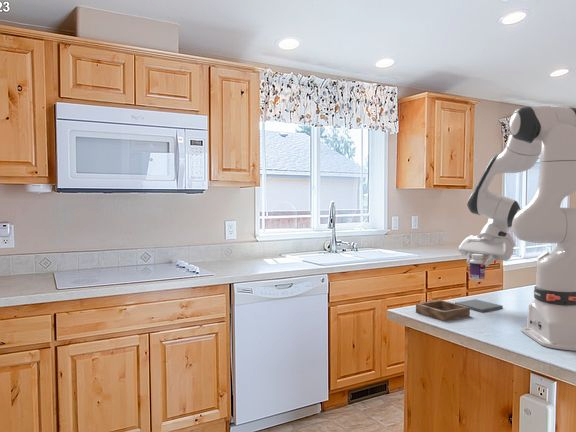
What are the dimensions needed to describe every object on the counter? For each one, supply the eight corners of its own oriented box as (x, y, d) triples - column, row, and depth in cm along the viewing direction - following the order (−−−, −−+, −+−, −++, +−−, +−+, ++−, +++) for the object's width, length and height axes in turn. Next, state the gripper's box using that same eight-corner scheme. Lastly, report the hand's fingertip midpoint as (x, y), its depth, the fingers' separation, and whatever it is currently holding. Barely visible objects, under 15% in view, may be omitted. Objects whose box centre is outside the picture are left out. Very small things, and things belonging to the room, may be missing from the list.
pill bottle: (482, 281, 163) (483, 255, 162) (467, 279, 166) (468, 254, 166) (486, 279, 167) (486, 254, 167) (471, 277, 170) (471, 253, 170)
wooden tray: (469, 315, 154) (469, 307, 154) (444, 320, 148) (444, 312, 148) (440, 307, 166) (440, 299, 166) (415, 312, 160) (415, 303, 159)
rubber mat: (502, 308, 165) (502, 305, 165) (481, 312, 159) (481, 309, 159) (475, 301, 176) (475, 299, 176) (454, 305, 170) (454, 302, 170)
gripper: (464, 230, 178) (449, 256, 173) (513, 234, 161) (498, 262, 156) (470, 240, 181) (455, 266, 176) (519, 245, 164) (505, 273, 159)
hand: (476, 264), depth 166 cm, fingers closed on pill bottle, 5 cm apart
